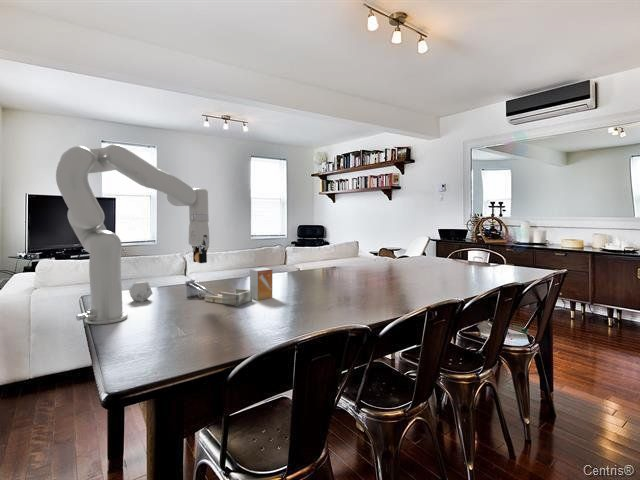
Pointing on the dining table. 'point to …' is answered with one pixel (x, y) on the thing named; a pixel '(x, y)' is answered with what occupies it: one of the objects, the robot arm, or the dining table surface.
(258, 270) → the small box
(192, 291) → the ramp
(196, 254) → the ball
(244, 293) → the lane
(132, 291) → the die
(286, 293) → the dining table surface
